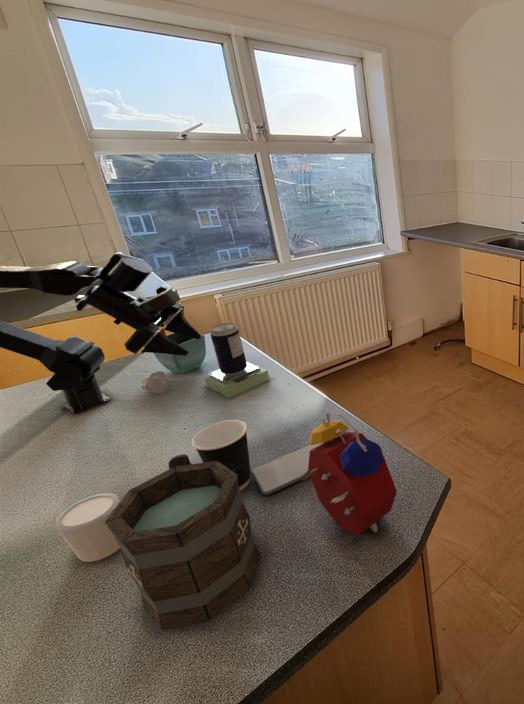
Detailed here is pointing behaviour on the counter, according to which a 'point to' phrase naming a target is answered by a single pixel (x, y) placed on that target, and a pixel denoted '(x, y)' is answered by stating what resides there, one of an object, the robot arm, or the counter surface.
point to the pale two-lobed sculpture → (155, 382)
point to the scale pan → (229, 378)
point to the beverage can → (228, 348)
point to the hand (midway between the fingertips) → (193, 345)
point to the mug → (186, 541)
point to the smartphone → (282, 470)
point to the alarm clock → (350, 476)
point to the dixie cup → (226, 447)
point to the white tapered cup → (89, 527)
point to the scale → (238, 383)
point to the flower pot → (184, 362)
